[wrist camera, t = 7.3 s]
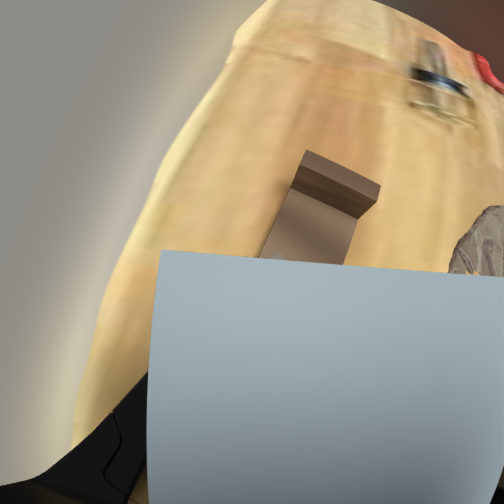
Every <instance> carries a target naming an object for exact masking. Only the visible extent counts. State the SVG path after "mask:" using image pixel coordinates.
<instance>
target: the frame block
mask: <svg viewBox="0 0 504 504" xmlns="http://www.w3.org/2000/svg"><path fill="white" fill-rule="evenodd" d="M503 466H504V277H493V276H479V275H465V274H452V273H439V272H425V271H412V270H399V269H387V268H374V267H361V266H349V265H336V264H324V263H312V262H300V261H288V260H276V259H264V258H252V257H240V256H228V255H217V254H205V253H194V252H182V251H171V250H161V254H160V261H159V268H158V275H157V283H156V291H155V300H154V309H153V319H152V329H151V341H150V355H149V370H148V391H147V476H148V495H149V504H490V502H491V499H492V497H493V494H494V492H495V489H496V487H497V484H498V481H499V478H500V475H501V473H502V470H503Z"/></svg>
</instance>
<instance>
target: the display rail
mask: <svg viewBox="0 0 504 504" xmlns="http://www.w3.org/2000/svg"><path fill="white" fill-rule="evenodd" d="M380 187H381V185H379V184H377V183H375V182H373V181H371V180H369V179H367V178H365V177H363V176H361V175H359V174H357V173H355V172H353V171H351V170H349V169H347V168H345V167H343V166H341V165H339V164H337V163H335V162H333V161H331V160H328V159H326V158H324V157H322V156H320V155H317V154H315V153H313V152H311V151H308V150H306V151H305V153H304V156H303V158H302V160H301V162H300V164H299V167H298V170H297V172H296V175H295V177H294V180H293V182H292V185H291V187H290V190H289V192H288V194H287V196H286V199H285V201H284V203H283V205H282V207H281V210H280V212H279V214H278V216H277V218H276V221H275V223H274V225H273V227H272V229H271V232H270V234H269V236H268V238H267V240H266V243H265V245H264V247H263V249H262V251H261V254H260V256H259V258H264V259H276V260H288V261H300V262H312V263H324V264H336V265H343V263H344V260H345V257H346V254H347V251H348V248H349V245H350V242H351V239H352V236H353V233H354V230H355V227H356V224H357V221H358V219H359V218H360V217H361V216H362V215H363V214H364V213H365V212H366V211H367V210H368V209H369V208H371V207H372V206H373V205H374V204H375V203H376V202H377V199H378V195H379V191H380Z"/></svg>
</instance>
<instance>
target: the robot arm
mask: <svg viewBox="0 0 504 504" xmlns="http://www.w3.org/2000/svg"><path fill="white" fill-rule="evenodd" d="M147 391H148V371H147V373H146V374H145V375H144V376H143V377H142V378H141V379H140V380H139V381H138V383H137V384H136V385H135V386H134V387H133V388H132V389H131V390H130V391H129V393H128V394H127V395H126V396H125V397H124V398H123V399H122V400H121V401H120V403H119V404H118V405H117V406H116V407H115V408H114V409H113V411H112V412H113V413H112V412H110V413H109V415H108V416H107V417H106V418H105V419H104V420H103V421H102V422H101V423H100V424H99V425H98V426H97V427H96V429H95V430H94V431H93V432H92V433H91V434H90V435H88V436H87V437H86V438H85V439H84V440H83V441H82V442H81V443H79V444H78V445H77V446H76V447H75V448H74V449H72V450H71V451H70V452H69V453H68V454H66V455H65V456H64V457H63V458H62V459H60V460H59V461H58V462H57V463H56V464H54V465H53V466H52V467H51V468H49V469H48V470H47V471H45V472H44V473H42V474H40V475H39V476H36V477H34V478H32V479H29V480H25V481H21V482H16V483H12V484H7V485H2V486H0V504H149V495H148V476H147ZM490 504H504V466H503V470H502V473H501V475H500V478H499V481H498V484H497V487H496V489H495V492H494V494H493V497H492V499H491V502H490Z"/></svg>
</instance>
